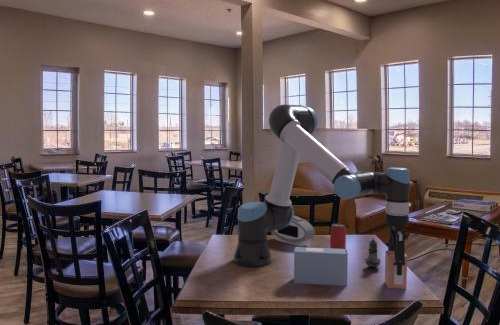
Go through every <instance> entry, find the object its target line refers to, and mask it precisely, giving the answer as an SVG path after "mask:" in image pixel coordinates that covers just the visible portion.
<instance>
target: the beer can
mask: <svg viewBox="0 0 500 325" xmlns="http://www.w3.org/2000/svg"><path fill="white" fill-rule="evenodd" d="M329 233H330V234H329V236H330V240H329V242H330V243H329V245H330V246H329V248H333V249H346V250H347V248H346V247H347V244H346V243H347V229H346V225H345V224H343V223H332V224H331V227H330V232H329Z"/></svg>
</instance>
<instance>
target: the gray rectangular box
mask: <svg viewBox="0 0 500 325" xmlns="http://www.w3.org/2000/svg"><path fill="white" fill-rule="evenodd" d="M293 250H294V251H293V252H294V253H293V284H295V285H298V284H305V285H322V286H323V285H324V286H342V287H343V286H344V287H347V286H348V260H349V258H348V255H349V254H348V250H347V248H346V249H333V248H330V247H327V248H326V247H307V246H303V247H300V246H294V249H293Z"/></svg>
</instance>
